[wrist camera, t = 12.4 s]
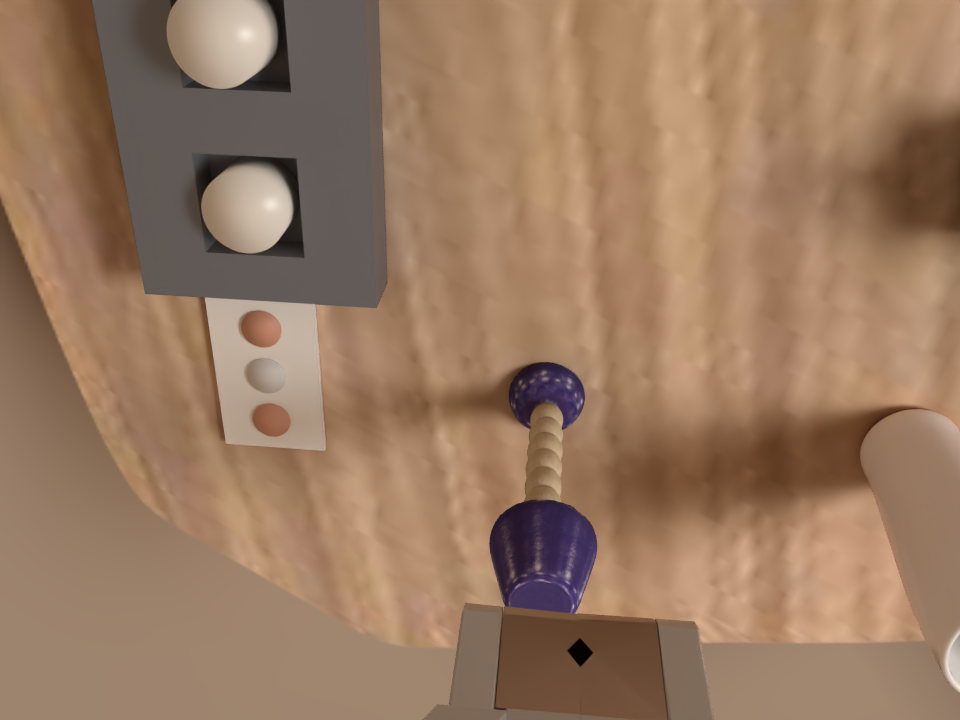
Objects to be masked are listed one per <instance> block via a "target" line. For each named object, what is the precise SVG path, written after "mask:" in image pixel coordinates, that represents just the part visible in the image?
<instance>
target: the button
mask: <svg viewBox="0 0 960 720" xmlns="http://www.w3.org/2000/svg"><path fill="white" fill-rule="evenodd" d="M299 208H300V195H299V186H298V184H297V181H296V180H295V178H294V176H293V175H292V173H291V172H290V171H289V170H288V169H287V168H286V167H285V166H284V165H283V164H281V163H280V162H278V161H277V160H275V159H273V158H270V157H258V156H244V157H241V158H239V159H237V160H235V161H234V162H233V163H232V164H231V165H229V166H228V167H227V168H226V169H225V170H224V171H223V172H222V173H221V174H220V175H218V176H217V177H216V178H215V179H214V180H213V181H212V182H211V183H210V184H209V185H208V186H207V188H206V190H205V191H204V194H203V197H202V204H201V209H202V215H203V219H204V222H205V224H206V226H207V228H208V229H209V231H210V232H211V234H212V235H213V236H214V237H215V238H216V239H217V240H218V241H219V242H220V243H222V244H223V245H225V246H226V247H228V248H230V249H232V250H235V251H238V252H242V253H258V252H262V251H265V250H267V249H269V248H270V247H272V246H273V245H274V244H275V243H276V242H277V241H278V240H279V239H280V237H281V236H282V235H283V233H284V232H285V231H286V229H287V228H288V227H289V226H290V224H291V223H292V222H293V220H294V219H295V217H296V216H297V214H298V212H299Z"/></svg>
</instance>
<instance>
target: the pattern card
mask: <svg viewBox="0 0 960 720" xmlns="http://www.w3.org/2000/svg"><path fill="white" fill-rule="evenodd" d="M205 303H206V310H207V316H208V323H209V330H210V337H211V344H212V351H213V358H214V365H215V372H216V378H217V385H218V392H219V399H220V406H221V413H222V420H223V427H224V434H225V441H226V444H237V445H251V446H265V447H279V448H293V449H306V450H320V451H325V449H326V436H325V423H324V410H323V397H322V384H321V371H320V357H319V344H318V331H317V318H316V305H315V304H303V303H287V302H270V301H254V300H238V299H221V298H205Z"/></svg>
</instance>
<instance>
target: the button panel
mask: <svg viewBox="0 0 960 720" xmlns="http://www.w3.org/2000/svg"><path fill="white" fill-rule="evenodd" d="M176 1H177V0H92V4H93V10H94V15H95V21H96V26H97V32H98V37H99V43H100V48H101V54H102V59H103V65H104V70H105V76H106V81H107V87H108V92H109V98H110V103H111V109H112V114H113V120H114V125H115V131H116V136H117V142H118V147H119V153H120V158H121V164H122V169H123V175H124V180H125V186H126V191H127V197H128V202H129V208H130V213H131V219H132V224H133V230H134V235H135V241H136V246H137V252H138V257H139V263H140V268H141V274H142V279H143V285H144V290H145V294H156V295H172V296H189V297H205V298H221V299H238V300H254V301H270V302H287V303H303V304H319V305H336V306H352V307H369V308H377V306H378V304H379V301H380V299H381V297H382V294H383V292H384V290H385V287H386V285H387V257H386V225H385V193H384V161H383V129H382V98H381V66H380V34H379V2H378V0H269V2H270V3H271V5H272V6H273V8H274V10H275V12H276V15H277V17H278V21H279V25H280V44H279V48H278V51H277V53H276V55H275V57H274V59H273V60H272V61H271V63H270V64H269V65H268V66H267V67H265V68H264V69H262V70H261V71H259V72H258V73H257V74H255V75H254V76H252V77H251V78H249V79H248V80H246V81H245V82H244V83H242V84H240V85H238V86H236V87H232V88H227V89H216V88H211V87H207V86H205V85H202V84H200V83H198V82H196V81H195V80H193V79H192V78H190V77H189V76H188V75H187V74H186V73H185V72H184V71H183V70H182V69H181V68H180V66H179V65H178V64H177V62H176V61H175V59H174V57H173V55H172V53H171V51H170V48H169V45H168V40H167V21H168V17H169V13H170V11H171V9H172V7H173V5H174V4H175V3H176ZM244 156H258V157H270V158H273V159H275V160H277V161H278V162H280V163H281V164H283V165H284V166H285V167H286V168H287V169H288V170H289V171H290V172H291V173H292V175H293V176H294V178H295V180H296V181H297V184H298V186H299V195H300V208H299V212H298V214H297V216H296V217H295V219H294V220H293V222H292V223H291V224H290V226H289V227H288V228H287V229H286V231H285V232H284V233H283V235H282V236H281V237H280V239H279V240H278V241H277V242H276V243H275V244H274V245H273V246H272V247H270V248H269V249H267V250H265V251H262V252H258V253H242V252H238V251H235V250H232V249H230V248H228V247H226V246H225V245H223V244H222V243H220V242H219V241H218V240H217V239H216V238H215V237H214V236H213V235H212V234H211V232H210V231H209V229H208V228H207V226H206V224H205V222H204V219H203V215H202V209H201V204H202V197H203V194H204V191H205V190H206V188H207V186H208V185H209V184H210V183H211V182H212V181H213V180H214V179H215V178H216V177H217V176H218V175H220V174H221V173H222V172H223V171H224V170H225V169H226V168H227V167H228V166H229V165H231V164H232V163H233V162H234V161H235V160H237V159H239V158H241V157H244Z"/></svg>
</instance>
